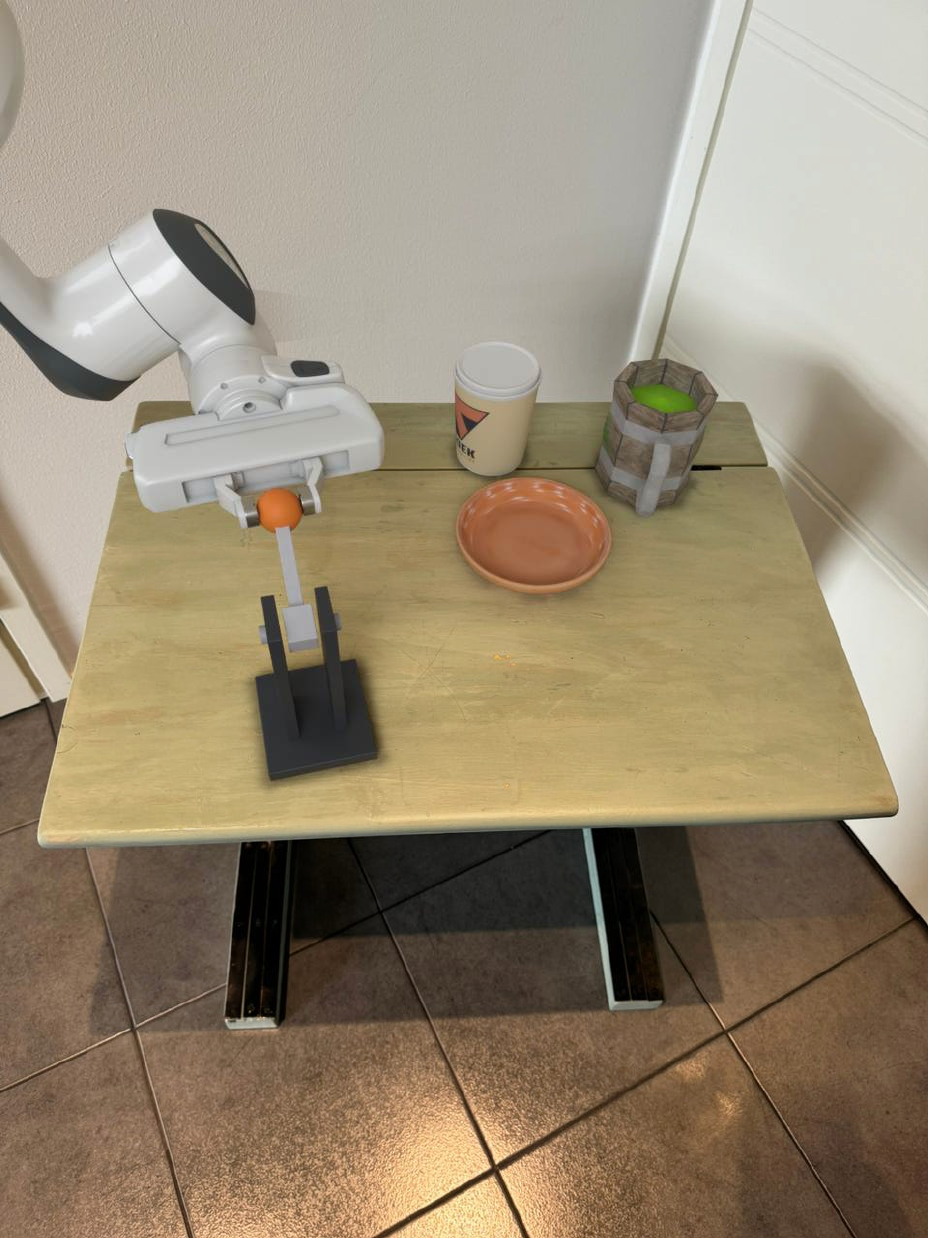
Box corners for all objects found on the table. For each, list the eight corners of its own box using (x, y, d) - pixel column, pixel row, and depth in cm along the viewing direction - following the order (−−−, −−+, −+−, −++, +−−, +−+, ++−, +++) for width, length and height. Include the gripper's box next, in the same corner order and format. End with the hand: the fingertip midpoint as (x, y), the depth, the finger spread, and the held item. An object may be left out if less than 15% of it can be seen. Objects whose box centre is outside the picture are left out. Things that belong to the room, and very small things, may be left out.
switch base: (256, 684, 75) (229, 573, 63) (355, 665, 77) (346, 555, 65) (270, 781, 69) (242, 679, 57) (377, 759, 71) (371, 655, 59)
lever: (254, 504, 68) (250, 482, 64) (299, 498, 68) (297, 476, 65) (281, 657, 63) (277, 642, 60) (328, 648, 64) (327, 633, 61)
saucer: (434, 583, 83) (435, 562, 81) (478, 482, 93) (480, 461, 91) (590, 624, 81) (595, 604, 79) (619, 516, 91) (624, 496, 89)
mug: (596, 439, 99) (616, 351, 90) (687, 452, 99) (717, 364, 89) (588, 531, 89) (609, 442, 80) (689, 546, 89) (722, 459, 79)
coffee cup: (439, 435, 98) (442, 345, 89) (513, 423, 100) (524, 334, 91) (463, 487, 93) (469, 397, 83) (541, 473, 95) (556, 384, 85)
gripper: (111, 398, 67) (132, 514, 60) (356, 358, 73) (405, 459, 65) (131, 458, 72) (153, 572, 65) (359, 416, 78) (405, 517, 70)
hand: (281, 515), depth 65 cm, fingers closed on lever, 3 cm apart
